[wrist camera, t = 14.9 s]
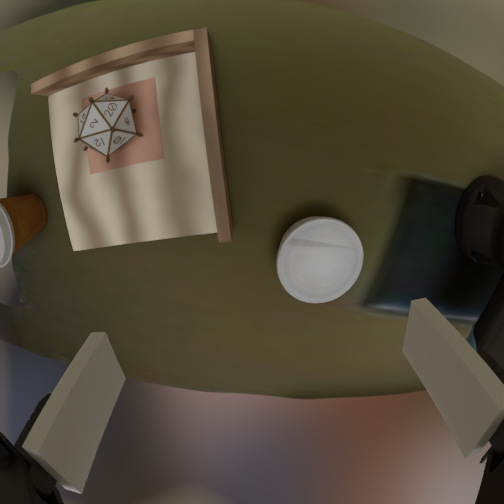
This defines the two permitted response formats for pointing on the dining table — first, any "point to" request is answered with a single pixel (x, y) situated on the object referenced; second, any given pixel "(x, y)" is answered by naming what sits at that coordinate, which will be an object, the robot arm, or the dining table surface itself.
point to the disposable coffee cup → (19, 223)
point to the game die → (106, 124)
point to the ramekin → (319, 259)
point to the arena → (143, 145)
